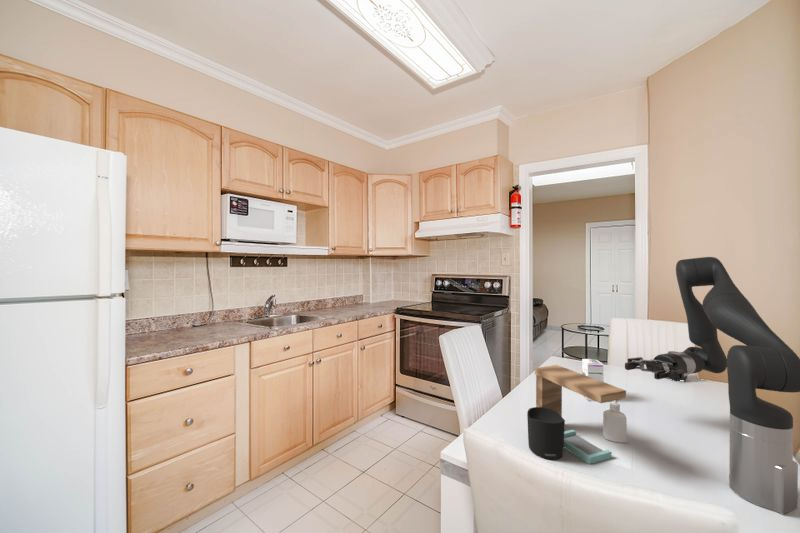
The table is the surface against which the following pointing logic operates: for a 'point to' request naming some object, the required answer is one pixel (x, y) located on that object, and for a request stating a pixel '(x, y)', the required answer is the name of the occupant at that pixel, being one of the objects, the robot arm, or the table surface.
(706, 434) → the table surface
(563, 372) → the shelf
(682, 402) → the table surface
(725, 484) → the table surface
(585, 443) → the mint green tray
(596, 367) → the syrup box
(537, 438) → the pen holder
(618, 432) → the eye dropper bottle
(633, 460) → the table surface
